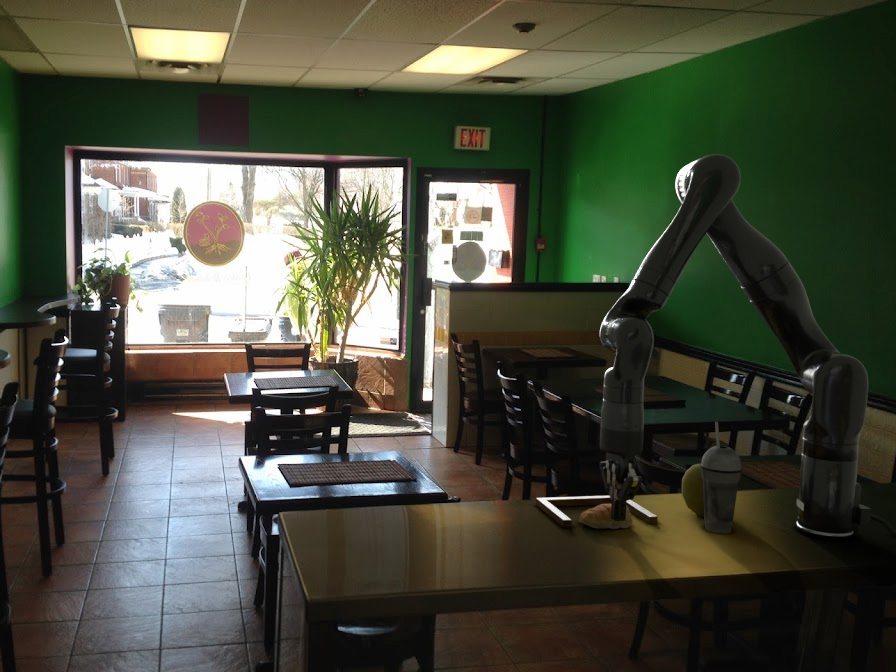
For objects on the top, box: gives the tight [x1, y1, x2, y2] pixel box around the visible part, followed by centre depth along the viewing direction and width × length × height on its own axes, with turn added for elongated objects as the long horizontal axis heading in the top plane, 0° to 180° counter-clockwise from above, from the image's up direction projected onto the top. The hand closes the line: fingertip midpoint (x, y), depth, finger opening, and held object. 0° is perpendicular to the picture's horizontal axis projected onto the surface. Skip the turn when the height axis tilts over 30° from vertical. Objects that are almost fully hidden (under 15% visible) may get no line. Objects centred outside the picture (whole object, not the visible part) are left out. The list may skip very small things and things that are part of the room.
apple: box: [681, 463, 704, 517], centre depth 173 cm, size 10×10×11 cm
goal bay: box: [535, 495, 659, 528], centre depth 172 cm, size 19×15×1 cm
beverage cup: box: [700, 421, 743, 534], centre depth 164 cm, size 7×7×20 cm
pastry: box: [579, 504, 633, 530], centre depth 166 cm, size 9×7×4 cm
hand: (618, 519), depth 162 cm, fingers closed
